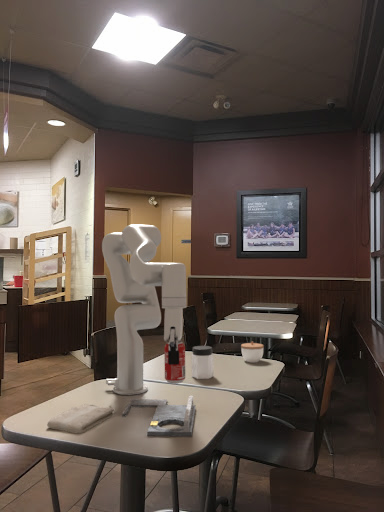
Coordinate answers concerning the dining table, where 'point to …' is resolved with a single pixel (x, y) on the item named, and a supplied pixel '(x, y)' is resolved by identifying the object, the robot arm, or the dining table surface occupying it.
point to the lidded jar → (252, 351)
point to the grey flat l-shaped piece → (143, 404)
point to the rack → (173, 419)
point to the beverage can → (175, 371)
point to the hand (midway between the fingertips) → (174, 361)
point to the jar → (202, 362)
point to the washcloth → (80, 418)
